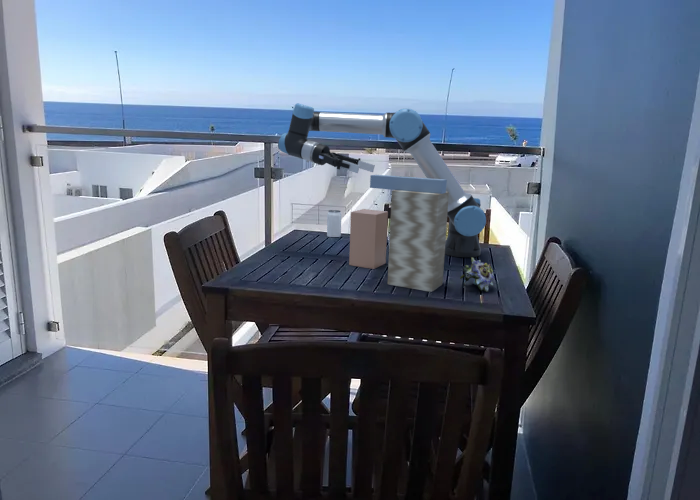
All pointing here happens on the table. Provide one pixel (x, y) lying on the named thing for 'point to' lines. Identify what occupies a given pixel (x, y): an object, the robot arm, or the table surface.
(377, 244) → the block
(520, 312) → the table surface
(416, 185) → the bar
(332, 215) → the can
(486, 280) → the passion flower
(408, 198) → the stand
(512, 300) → the table surface
